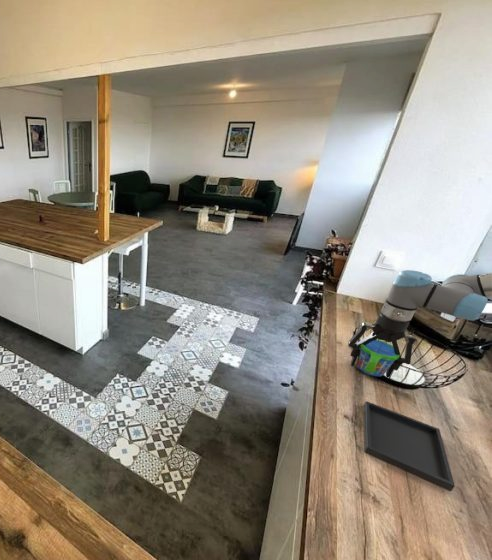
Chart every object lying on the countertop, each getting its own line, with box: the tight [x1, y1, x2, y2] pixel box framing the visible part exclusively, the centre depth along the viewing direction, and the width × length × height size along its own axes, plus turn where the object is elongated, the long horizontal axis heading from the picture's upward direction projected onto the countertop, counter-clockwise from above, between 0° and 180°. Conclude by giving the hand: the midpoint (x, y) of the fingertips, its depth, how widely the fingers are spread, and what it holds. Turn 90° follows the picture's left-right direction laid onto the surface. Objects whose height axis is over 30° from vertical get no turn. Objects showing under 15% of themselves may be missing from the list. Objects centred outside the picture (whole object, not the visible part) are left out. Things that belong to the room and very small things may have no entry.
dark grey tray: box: [362, 400, 456, 492], centre depth 85 cm, size 17×20×2 cm
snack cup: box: [356, 339, 400, 377], centre depth 108 cm, size 16×10×10 cm
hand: (369, 369), depth 110 cm, fingers closed on snack cup, 9 cm apart
